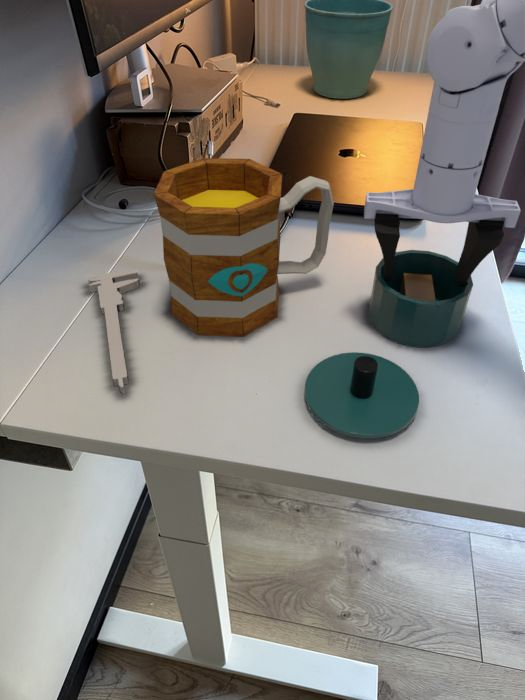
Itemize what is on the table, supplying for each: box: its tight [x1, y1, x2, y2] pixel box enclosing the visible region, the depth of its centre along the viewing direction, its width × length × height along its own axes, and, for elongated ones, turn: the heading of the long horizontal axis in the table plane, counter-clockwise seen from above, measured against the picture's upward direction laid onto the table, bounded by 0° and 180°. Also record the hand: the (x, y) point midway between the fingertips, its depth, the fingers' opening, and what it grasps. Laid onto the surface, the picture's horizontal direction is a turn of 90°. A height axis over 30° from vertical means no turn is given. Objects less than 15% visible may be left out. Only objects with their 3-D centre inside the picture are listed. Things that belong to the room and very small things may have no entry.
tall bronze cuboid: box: [400, 273, 436, 301], centre depth 61 cm, size 3×6×4 cm, turn 172°
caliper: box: [87, 270, 141, 395], centre depth 61 cm, size 20×1×6 cm
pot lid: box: [304, 352, 420, 439], centre depth 52 cm, size 11×11×5 cm
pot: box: [368, 249, 474, 348], centre depth 61 cm, size 10×10×6 cm
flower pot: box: [304, 0, 394, 100], centre depth 117 cm, size 18×18×17 cm
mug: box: [153, 157, 335, 338], centre depth 61 cm, size 20×14×15 cm
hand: (423, 279), depth 59 cm, fingers open, 7 cm apart
